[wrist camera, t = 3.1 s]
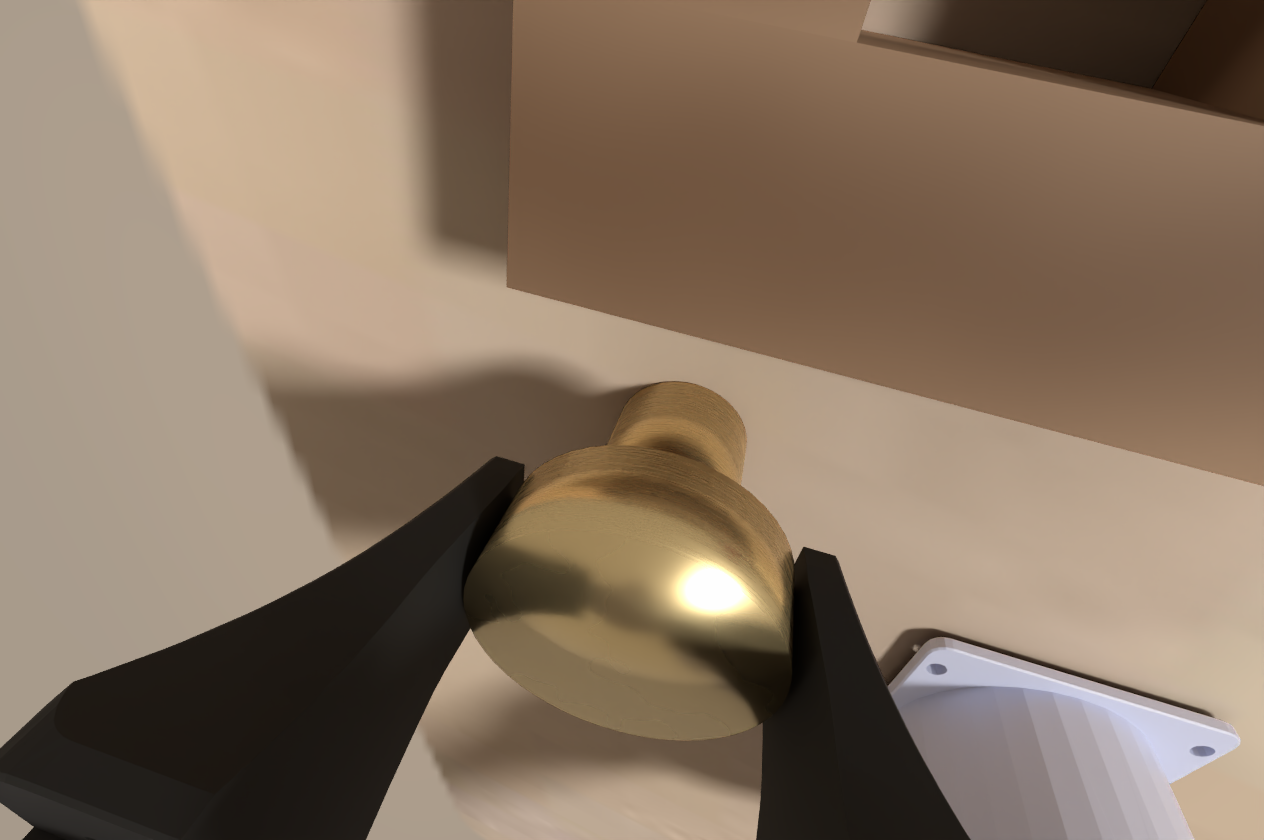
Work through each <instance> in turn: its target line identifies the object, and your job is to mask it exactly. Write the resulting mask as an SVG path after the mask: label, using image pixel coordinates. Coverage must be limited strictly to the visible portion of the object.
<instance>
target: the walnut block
mask: <svg viewBox="0 0 1264 840" xmlns="http://www.w3.org/2000/svg"><path fill="white" fill-rule="evenodd" d="M870 1H871V0H513V29H512V72H511V116H510V160H509V203H508V247H507V287H508V288H512V289H516V290H520V291H523V292H527V293H531V294H535V295H539V296H542V297H546V298H550V299H554V300H558V301H561V302H565V303H569V304H573V305H577V306H581V307H584V308H588V309H592V310H596V311H600V312H603V313H607V314H611V315H615V316H619V317H622V318H626V319H630V320H634V321H638V322H641V323H645V324H649V325H653V326H657V327H660V328H664V329H668V330H672V331H676V332H679V333H683V334H687V335H691V336H695V337H699V338H702V339H706V340H710V341H714V342H718V343H721V344H725V345H729V346H733V347H737V348H740V349H744V350H748V351H752V352H756V353H759V354H763V355H767V356H771V357H775V358H778V359H782V360H786V361H790V362H794V363H797V364H801V365H805V366H809V367H813V368H816V369H820V370H824V371H828V372H832V373H836V374H839V375H843V376H847V377H851V378H855V379H858V380H862V381H866V382H870V383H874V384H877V385H881V386H885V387H889V388H893V389H896V390H900V391H904V392H908V393H912V394H915V395H919V396H923V397H927V398H931V399H934V400H938V401H942V402H946V403H950V404H954V405H957V406H961V407H965V408H969V409H973V410H976V411H980V412H984V413H988V414H992V415H995V416H999V417H1003V418H1007V419H1011V420H1014V421H1018V422H1022V423H1026V424H1030V425H1033V426H1037V427H1041V428H1045V429H1049V430H1052V431H1056V432H1060V433H1064V434H1068V435H1071V436H1075V437H1079V438H1083V439H1087V440H1091V441H1094V442H1098V443H1102V444H1106V445H1110V446H1113V447H1117V448H1121V449H1125V450H1129V451H1132V452H1136V453H1140V454H1144V455H1148V456H1151V457H1155V458H1159V459H1163V460H1167V461H1170V462H1174V463H1178V464H1182V465H1186V466H1189V467H1193V468H1197V469H1201V470H1205V471H1209V472H1212V473H1216V474H1220V475H1224V476H1228V477H1231V478H1235V479H1239V480H1243V481H1247V482H1250V483H1254V484H1258V485H1262V486H1264V0H1207V1H1206V3H1205V5H1204V6H1203V8H1202V9H1201V11H1200V13H1199V14H1198V16H1197V17H1196V19H1195V21H1194V22H1193V24H1192V25H1191V27H1190V29H1189V30H1188V32H1187V33H1186V35H1185V37H1184V38H1183V40H1182V41H1181V43H1180V45H1179V46H1178V48H1177V49H1176V51H1175V53H1174V54H1173V56H1172V57H1171V59H1170V61H1169V62H1168V64H1167V65H1166V67H1165V69H1164V70H1163V72H1162V73H1161V75H1160V77H1159V78H1158V80H1157V81H1156V83H1155V85H1154V86H1153V88H1152V89H1151V88H1146V87H1141V86H1136V85H1131V84H1126V83H1121V82H1116V81H1111V80H1106V79H1102V78H1097V77H1092V76H1087V75H1082V74H1077V73H1072V72H1067V71H1062V70H1057V69H1052V68H1047V67H1042V66H1037V65H1032V64H1027V63H1023V62H1018V61H1013V60H1008V59H1003V58H998V57H993V56H988V55H983V54H978V53H973V52H968V51H963V50H958V49H953V48H948V47H944V46H939V45H934V44H929V43H924V42H919V41H914V40H909V39H904V38H899V37H894V36H889V35H884V34H879V33H874V32H869V31H865V30H861V28H862V25H863V22H864V19H865V16H866V13H867V10H868V7H869V4H870Z"/></svg>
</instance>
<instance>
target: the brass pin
mask: <svg viewBox="0 0 1264 840" xmlns="http://www.w3.org/2000/svg"><path fill="white" fill-rule="evenodd" d="M746 443H747V438H746V431H745V427H744V424H743V422H742V420H741V418H740V416H739V414H738V413H737V412H736V410H735V409H734V408H733V407H732V406H731V405H730V404H729V403H728V402H727V401H726V400H725V399H724V398H722V397H721V396H720V395H718V394H716V393H715V392H713V391H711V390H709V389H707V388H705V387H702V386H699V385H696V384H691V383H686V382H664V383H658V384H654V385H651V386H649V387H646V388H644V389H642V390H641V391H639V392H638V393H636V394H635V395H634V396H633V397H632V398H631V399H630V400H629V401H628V402H627V404H626V405H625V406H624V408H623V411H622V413H621V415H620V417H619V419H618V422H617V424H616V426H615V428H614V430H613V433H612V435H611V437H610V439H609V442H608V444H607V445H606V446H596V447H588V448H584V449H579V450H575V451H571V452H568V453H566V454H563V455H560V456H557V457H555V458H553V459H552V460H550V461H548V462H546V463H544V464H543V465H541V466H540V467H539V468H538V469H536V470H535V471H534V472H532V473H531V474H530V475H529V477H528V478H527V479H526V480H525V481H524V482H523V483H522V485H521V487H520V488H519V490H518V492H517V494H516V495H515V497H514V499H513V500H512V502H511V504H510V505H509V507H508V509H507V511H506V512H505V514H504V516H503V517H502V519H501V521H500V522H499V524H498V526H497V528H496V529H495V531H494V533H493V534H492V536H491V538H490V539H489V541H488V543H487V545H486V546H485V548H484V550H483V551H482V553H481V555H480V556H479V558H478V560H477V562H476V563H475V565H474V567H473V568H472V570H471V572H470V574H469V575H468V577H467V581H466V584H465V587H464V599H463V601H464V608H465V614H466V617H467V620H468V623H469V626H470V628H471V630H472V632H473V634H474V636H475V638H476V639H477V641H478V642H479V644H480V645H481V647H482V648H483V650H484V651H485V652H486V653H487V654H488V656H489V657H490V658H491V659H492V660H493V661H494V663H495V664H497V665H498V666H499V667H500V668H501V669H502V670H503V671H504V672H505V673H506V674H507V675H508V676H509V677H511V678H512V679H513V680H514V681H516V682H517V683H518V684H519V685H521V686H522V687H524V688H525V689H526V690H528V691H529V692H531V693H532V694H534V695H535V696H537V697H539V698H540V699H542V700H544V701H545V702H547V703H549V704H551V705H552V706H554V707H556V708H558V709H560V710H562V711H564V712H566V713H569V714H571V715H573V716H575V717H578V718H580V719H582V720H585V721H588V722H590V723H593V724H596V725H599V726H602V727H605V728H608V729H612V730H615V731H619V732H623V733H627V734H631V735H636V736H642V737H648V738H654V739H664V740H680V741H694V740H709V739H716V738H723V737H727V736H731V735H735V734H739V733H741V732H744V731H746V730H749V729H752V728H754V727H755V726H757V725H759V724H761V723H763V722H764V721H766V720H767V719H768V718H769V717H771V716H772V715H773V714H774V713H775V712H776V711H777V710H778V709H779V708H780V706H781V705H782V704H783V703H784V701H785V699H786V697H787V695H788V693H789V689H790V685H791V680H792V652H793V616H794V581H795V572H794V560H793V555H792V550H791V548H790V545H789V543H788V540H787V538H786V535H785V534H784V532H783V530H782V529H781V527H780V525H779V524H778V522H777V520H776V519H775V518H774V517H773V516H772V514H771V513H770V512H769V511H768V510H767V508H766V507H765V506H764V505H763V504H762V503H761V502H760V501H759V500H758V499H757V498H756V497H754V496H753V495H752V494H751V493H750V492H749V491H747V490H746V489H745V488H743V487H742V486H741V480H742V473H743V466H744V459H745V452H746Z"/></svg>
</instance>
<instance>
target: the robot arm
mask: <svg viewBox="0 0 1264 840" xmlns="http://www.w3.org/2000/svg"><path fill="white" fill-rule="evenodd" d="M524 467H525V465H524V464H521V463H517V462H514V461H511V460H507V459H504V458H500V457H497V456H496V457H494V458H492V459H491V460H489V461H488V462H487V463H486V464H485V465H483V466H482V467H481V468H480V469H478V470H477V471H476V472H475V473H473V474H472V475H471V476H470V477H468V478H467V479H466V480H465V481H463V482H462V483H461V484H459V485H458V486H457V487H456V488H454V489H453V490H452V491H450V492H449V493H448V494H446V495H445V496H444V497H443V498H441V499H440V500H439V501H437V502H436V503H434V504H433V505H432V506H430V507H429V508H427V509H426V510H425V511H423V512H422V513H421V514H419V515H418V516H416V517H415V518H414V519H412V520H411V521H409V522H408V523H407V524H405V525H404V526H402V527H401V528H399V529H398V530H396V531H395V532H393V533H392V534H390V535H389V536H387V537H385V538H384V539H382V540H381V541H379V542H378V543H376V544H375V545H373V546H372V547H370V548H369V549H367V550H366V551H364V552H362V553H361V554H359V555H357V556H356V557H354V558H352V559H351V560H349V561H347V562H346V563H344V564H342V565H341V566H339V567H337V568H336V569H334V570H332V571H330V572H328V573H326V574H325V575H323V576H321V577H319V578H318V579H316V580H314V581H312V582H310V583H308V584H306V585H305V586H302V587H300V588H298V589H297V590H295V591H293V592H291V593H289V594H287V595H285V596H283V597H281V598H279V599H277V600H275V601H273V602H271V603H269V604H267V605H265V606H263V607H261V608H259V609H256V610H254V611H252V612H250V613H248V614H246V615H243V616H241V617H239V618H237V619H234V620H232V621H230V622H227V623H225V624H223V625H220V626H218V627H216V628H214V629H211V630H209V631H207V632H204V633H202V634H200V635H197V636H195V637H192V638H190V639H188V640H186V641H183V642H181V643H178V644H176V645H173V646H171V647H168V648H166V649H163V650H161V651H158V652H155V653H152V654H149V655H147V656H144V657H141V658H139V659H136V660H133V661H131V662H128V663H125V664H122V665H119V666H117V667H114V668H111V669H108V670H106V671H103V672H100V673H98V674H95V675H92V676H89V677H86V678H83V679H80V680H77V681H74V682H73V683H71V684H70V685H69V686H68V687H67V688H66V689H64V690H63V691H62V692H61V693H60V694H59V695H57V696H56V697H55V698H54V699H53V700H52V701H51V702H49V703H48V704H47V705H46V706H45V707H44V708H43V709H42V710H41V711H39V713H37V714H36V715H35V716H34V717H33V718H32V719H31V720H30V721H29V722H28V723H27V724H26V725H25V726H24V727H22V728H21V730H19V731H18V732H17V733H16V734H15V735H14V736H13V737H12V738H11V739H10V740H9V741H8V742H7V743H6V744H4V745H3V746H2V747H1V748H0V803H2V804H3V805H5V806H6V807H7V808H9V809H10V810H11V811H13V812H14V813H16V814H17V815H18V816H20V817H21V818H23V819H24V820H25V821H27V822H28V823H29V824H31V825H32V826H34V828H33V829H32V830H31V831H30V832H29V833H28V834H27V835H26V836H25V837H24V838H23V840H366V838H367V836H368V834H369V831H370V829H371V827H372V824H373V822H374V820H375V818H376V815H377V813H378V811H379V809H380V806H381V804H382V802H383V799H384V797H385V795H386V793H387V790H388V788H389V786H390V784H391V781H392V779H393V777H394V775H395V773H396V770H397V768H398V766H399V764H400V762H401V760H402V758H403V755H404V753H405V751H406V749H407V747H408V744H409V742H410V740H411V738H412V736H413V734H414V732H415V730H416V728H417V725H418V723H419V721H420V719H421V717H422V715H423V713H424V711H425V709H426V707H427V705H428V702H429V700H430V698H431V696H432V694H433V692H434V690H435V688H436V686H437V685H438V683H439V681H440V679H441V677H442V675H443V674H444V672H445V670H446V668H447V666H448V665H449V663H450V661H451V660H452V658H453V656H454V655H455V653H456V651H457V650H458V648H459V646H460V645H461V643H462V641H463V640H464V638H465V636H466V635H467V633H468V631H469V630H470V626H469V623H468V620H467V617H466V614H465V608H464V601H463V599H464V587H465V584H466V581H467V577H468V575H469V574H470V572H471V570H472V568H473V567H474V565H475V563H476V562H477V560H478V558H479V556H480V555H481V553H482V551H483V550H484V548H485V546H486V545H487V543H488V541H489V539H490V538H491V536H492V534H493V533H494V531H495V529H496V528H497V526H498V524H499V522H500V521H501V519H502V517H503V516H504V514H505V512H506V511H507V509H508V507H509V505H510V504H511V502H512V500H513V499H514V497H515V495H516V494H517V492H518V490H519V488H520V487H521V485H522V483H523V482H524ZM794 572H795V581H794V616H793V652H792V680H791V685H790V689H789V693H788V695H787V697H786V699H785V701H784V703H783V704H782V705H781V706H780V708H779V709H778V710H777V711H776V712H775V713H774V714H773V715H772V716H771V717H769V718H768V719H767V720H766V721H764V722H763V749H762V784H761V801H760V811H759V820H758V829H757V838H756V840H1194V837H1193V835H1192V833H1191V831H1190V829H1189V826H1188V824H1187V822H1186V820H1185V818H1184V815H1183V813H1182V811H1181V809H1180V806H1179V804H1178V802H1177V800H1176V798H1175V795H1174V793H1173V791H1172V789H1171V787H1170V784H1171V783H1173V782H1174V781H1176V780H1178V779H1180V778H1182V777H1184V776H1186V775H1187V774H1189V773H1191V772H1193V771H1195V770H1197V769H1198V768H1200V767H1202V766H1204V765H1206V764H1208V763H1210V762H1211V761H1213V760H1215V759H1217V758H1219V757H1221V756H1223V755H1224V754H1226V753H1228V752H1230V751H1232V750H1234V749H1235V748H1236V747H1238V746H1239V745H1240V741H1241V739H1240V738H1239V736H1238V734H1237V732H1236V731H1235V729H1234V727H1233V726H1232V725H1231V724H1229V723H1227V722H1225V721H1222V720H1219V719H1216V718H1212V717H1209V716H1206V715H1202V714H1199V713H1196V712H1192V711H1189V710H1186V709H1183V708H1179V707H1176V706H1173V705H1169V704H1166V703H1163V702H1159V701H1156V700H1153V699H1150V698H1146V697H1143V696H1140V695H1136V694H1133V693H1130V692H1126V691H1123V690H1120V689H1116V688H1113V687H1110V686H1107V685H1103V684H1100V683H1097V682H1093V681H1090V680H1087V679H1083V678H1080V677H1077V676H1073V675H1070V674H1067V673H1064V672H1060V671H1057V670H1054V669H1050V668H1047V667H1044V666H1040V665H1037V664H1034V663H1030V662H1027V661H1024V660H1021V659H1017V658H1014V657H1011V656H1007V655H1004V654H1001V653H997V652H994V651H991V650H987V649H984V648H981V647H978V646H974V645H971V644H968V643H964V642H961V641H958V640H954V639H951V638H946V637H936V638H933V639H930V640H928V641H927V642H926V643H924V645H923V646H922V647H921V648H920V649H919V650H918V652H917V653H916V654H915V655H914V656H913V657H912V659H911V660H910V661H909V662H908V663H907V664H906V666H905V667H904V668H903V669H902V670H901V671H900V673H899V674H898V675H897V676H896V677H895V678H894V680H893V681H892V682H891V683H890V684H889V685H888V687H887V685H886V682H885V680H884V678H883V676H882V673H881V671H880V669H879V666H878V664H877V662H876V659H875V657H874V655H873V652H872V650H871V648H870V645H869V643H868V640H867V638H866V635H865V633H864V630H863V628H862V625H861V623H860V620H859V618H858V615H857V612H856V610H855V607H854V604H853V602H852V599H851V596H850V593H849V591H848V588H847V585H846V582H845V579H844V576H843V573H842V570H841V567H840V564H839V562H838V560H837V558H836V556H834V555H830V554H827V553H823V552H820V551H817V550H813V549H810V548H806V547H803V549H802V551H801V553H800V555H799V557H798V558H797V560H796V562H795V564H794Z"/></svg>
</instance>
